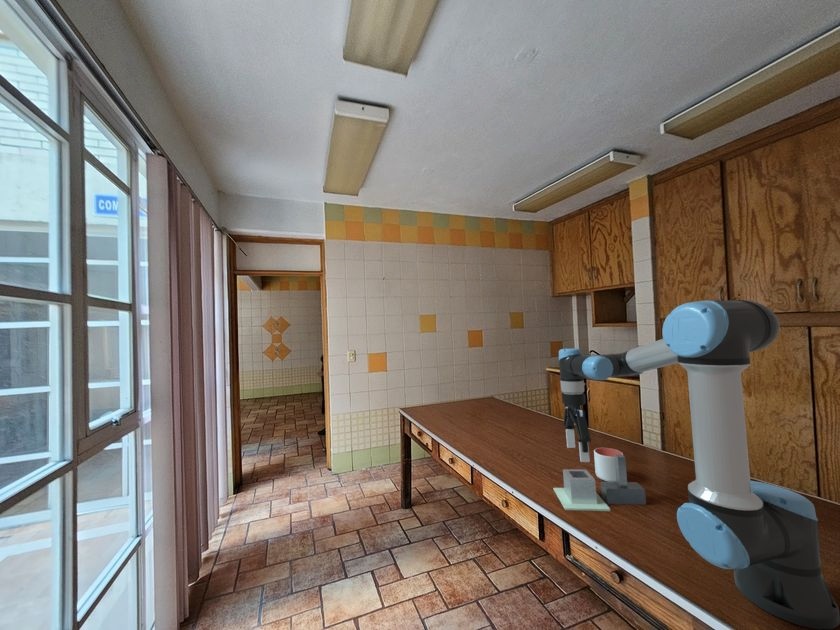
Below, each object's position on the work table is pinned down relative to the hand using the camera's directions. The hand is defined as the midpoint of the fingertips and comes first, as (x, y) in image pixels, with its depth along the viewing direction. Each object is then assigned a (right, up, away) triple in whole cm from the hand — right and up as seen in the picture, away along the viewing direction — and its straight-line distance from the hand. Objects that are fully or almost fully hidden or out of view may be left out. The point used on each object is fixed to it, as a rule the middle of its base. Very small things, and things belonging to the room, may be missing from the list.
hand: (577, 454), depth 114 cm
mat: (+1, -16, 0) cm, 16 cm away
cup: (+20, -16, +14) cm, 29 cm away
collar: (+1, -15, 0) cm, 15 cm away
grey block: (+14, -15, -2) cm, 21 cm away
